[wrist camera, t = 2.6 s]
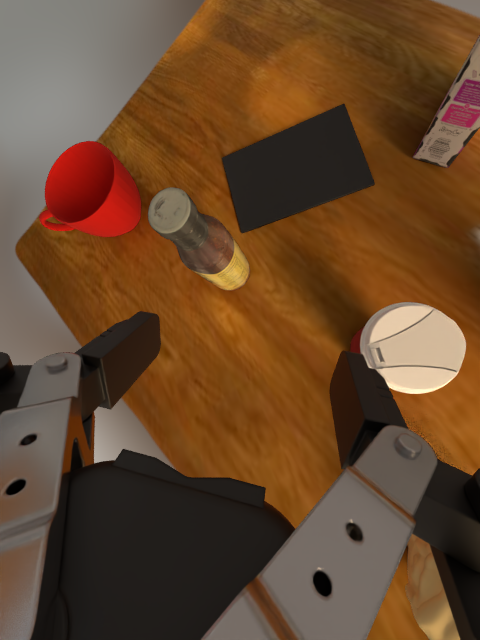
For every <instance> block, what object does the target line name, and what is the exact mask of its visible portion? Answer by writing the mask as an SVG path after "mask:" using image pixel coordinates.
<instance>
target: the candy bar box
mask: <svg viewBox="0 0 480 640" xmlns="http://www.w3.org/2000/svg"><path fill="white" fill-rule="evenodd" d="M479 128H480V35H479V37H478V39H477V41H476V42H475V44H474V46H473V48H472V50H471V51H470V53H469V55H468V57H467V59H466V60H465V62H464V64H463V66H462V68H461V69H460V71H459V73H458V75H457V77H456V79H455V80H454V82H453V84H452V86H451V88H450V89H449V91H448V93H447V95H446V97H445V98H444V100H443V102H442V104H441V106H440V107H439V109H438V111H437V113H436V115H435V117H434V118H433V120H432V122H431V124H430V126H429V128H428V130H427V132H426V134H425V135H424V137H423V139H422V141H421V143H420V145H419V147H418V148H417V150H416V152H415V154H414V156H413V158H414V159H417V160H421V161H425V162H428V163H431V164H435V165H438V166H441V167H445V168H448V167H449V166H450V165H451V163H452V162H453V161H454V159H455V158H456V157H457V156H458V154H459V153H460V152H461V151H462V149H463V148H464V147H465V146H466V144H467V143H468V142H469V140H470V139H471V138H472V137H473V135H474V134H475V133H476V131H477V130H478V129H479Z"/></svg>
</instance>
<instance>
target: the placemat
mask: <svg viewBox="0 0 480 640" xmlns="http://www.w3.org/2000/svg"><path fill="white" fill-rule="evenodd" d="M222 160H223V164H224V168H225V172H226V176H227V179H228V183H229V187H230V191H231V195H232V198H233V202H234V206H235V210H236V214H237V217H238V221H239V225H240V229H241V232H242V233H245V232H247V231H250V230H253V229H256V228H258V227H261V226H264V225H266V224H269V223H272V222H275V221H277V220H280V219H283V218H286V217H288V216H291V215H294V214H296V213H299V212H302V211H305V210H307V209H310V208H313V207H315V206H318V205H321V204H324V203H326V202H329V201H332V200H334V199H337V198H340V197H343V196H345V195H348V194H351V193H354V192H356V191H359V190H362V189H364V188H367V187H370V186H373V185H374V184H375V183H374V180H373V177H372V175H371V172H370V170H369V167H368V164H367V162H366V159H365V157H364V154H363V151H362V149H361V146H360V143H359V141H358V138H357V136H356V133H355V130H354V128H353V125H352V122H351V120H350V117H349V115H348V112H347V109H346V107H345V104H342V105H340V106H337V107H335V108H333V109H331V110H328V111H326V112H324V113H322V114H319V115H317V116H315V117H313V118H310V119H308V120H306V121H304V122H302V123H299V124H297V125H295V126H293V127H290V128H288V129H286V130H284V131H281V132H279V133H277V134H275V135H272V136H270V137H268V138H266V139H263V140H261V141H259V142H257V143H254V144H252V145H250V146H248V147H245V148H243V149H241V150H239V151H236V152H234V153H232V154H230V155H227V156H225V157H223V158H222Z"/></svg>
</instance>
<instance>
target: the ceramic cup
mask: <svg viewBox="0 0 480 640" xmlns="http://www.w3.org/2000/svg"><path fill="white" fill-rule="evenodd" d="M45 200H46V205H47V207H48V210H45V211H43V212H42V213H41V214H40V217H39V218H40V222H41V224H42V225H43V226H44V227H46V228H48V229H51V230H55V231H69V230H74V229H77V230H80V231H82V232H85V233H88V234H91V235H96V236H101V237H114V236H119V235H122V234H124V233H127V232H129V231H131V230H133V229H134V228H135V227H136V225H137V224H138V222H139V220H140V217H141V198H140V194H139V191H138V188H137V186H136V184H135V182H134V180H133V178H132V176H131V175H130V173H129V172H128V171H127V169H126V168H125V167H124V166H123V164H122V163H121V162H120V161H119V160H118V159H117V157H116V156H115V155H114V154H113V153H112V152H111V151H110V150H109V149H108V148H107V147H105V146H104V145H102V144H101V143H98V142H94V141H86V142H81V143H78V144H75V145H74V146H72V147H70V148H68V149H67V150H66V151H65V152H64V153H62V154H61V156H60V157H59V158H58V159H57V160H56V162H55V163H54V165H53V166H52V168H51V170H50V172H49V174H48V178H47V181H46V186H45ZM50 217H55V218H56V219H57V220H58V221H60V222H62V223H64V224H56V223H51V222H48V221H46V219H48V218H50Z"/></svg>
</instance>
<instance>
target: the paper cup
mask: <svg viewBox="0 0 480 640" xmlns="http://www.w3.org/2000/svg"><path fill="white" fill-rule="evenodd" d="M350 350H351V352H354V353H360V354H363V355H364V357H365V360H366V362H367V365H368V367H369V368H372V369H375V370H376V371H377V372H378V373H379V374H380V375H381V376H382V377H383V378H384V379H385V381H386V383H387V385H388V387H389V388H391V389H393V390H397V391H400V392H404V393H412V394H420V393H427V392H431V391H434V390H437V389H439V388H441V387H443V386H444V385H446V384H447V383H449V382H450V381H451V380H452V379H453V378H454V377H455V376H456V375H457V374H458V372H459V369H460V367H461V365H462V362H463V359H464V356H465V350H466V341H465V338H464V335H463V333H462V331H461V330H460V328H459V327H458V325H457V324H456V323H455V321H453V320H452V319H450V318H449V317H447V316H446V315H445V314H443V313H442V312H441V311H439V310H437V309H435V308H433V307H430V306H428V305H425V304H420V303H413V302H403V303H397V304H393V305H390V306H387V307H385V308H383V309H381V310H379V311H378V312H377V313H375V314H374V315H373V316H372V317H371V318H370V319H369V320H368V322H367V323H366V325H365V326H364V327H363V328H362V329H360V330H359V331H358V332H357V333H356V334H355V335H354V337H353V338H352V340H351V344H350Z"/></svg>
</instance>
